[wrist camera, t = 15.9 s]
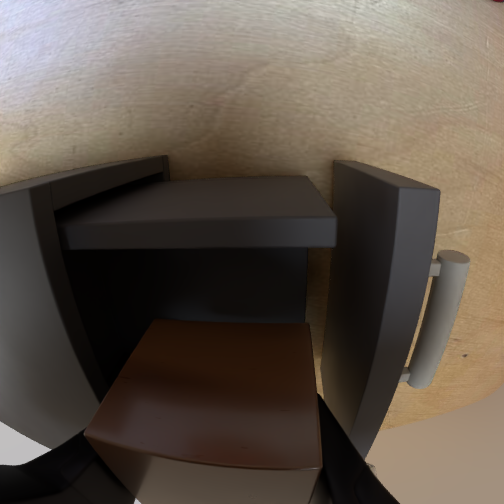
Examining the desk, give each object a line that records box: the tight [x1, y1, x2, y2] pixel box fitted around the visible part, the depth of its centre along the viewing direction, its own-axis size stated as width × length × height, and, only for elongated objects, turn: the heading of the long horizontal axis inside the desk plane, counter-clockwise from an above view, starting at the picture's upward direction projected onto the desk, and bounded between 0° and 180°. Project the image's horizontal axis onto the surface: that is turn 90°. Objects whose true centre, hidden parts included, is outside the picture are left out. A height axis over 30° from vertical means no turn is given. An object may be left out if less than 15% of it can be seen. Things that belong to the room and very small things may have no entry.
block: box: [84, 318, 323, 504], centre depth 8 cm, size 5×5×5 cm
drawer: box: [53, 160, 470, 460], centre depth 13 cm, size 20×14×9 cm
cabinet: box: [0, 155, 170, 449], centre depth 14 cm, size 17×15×11 cm
